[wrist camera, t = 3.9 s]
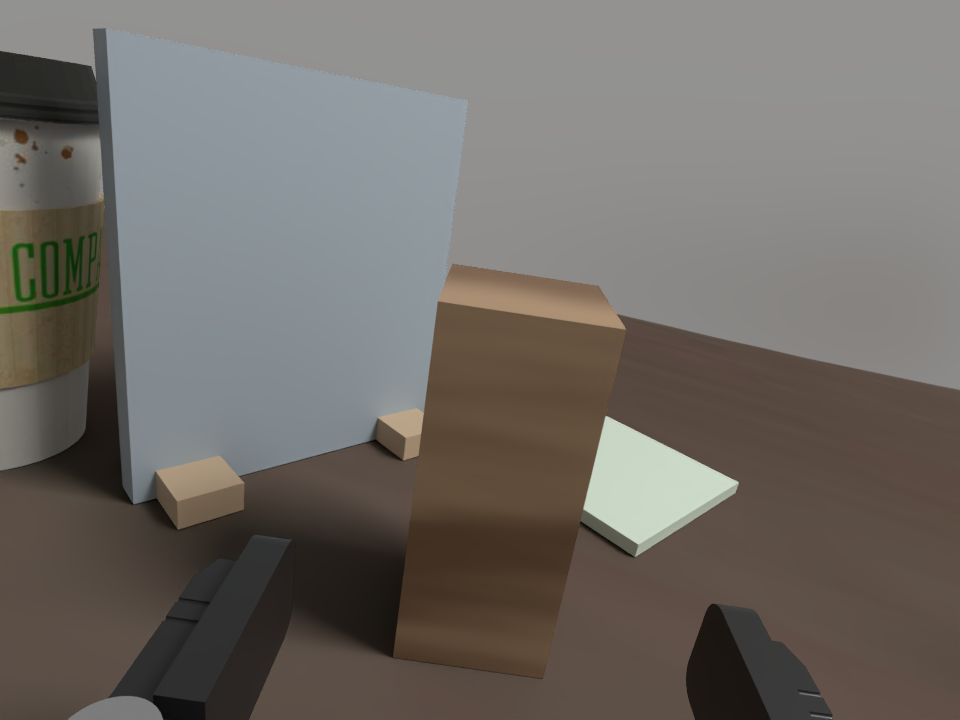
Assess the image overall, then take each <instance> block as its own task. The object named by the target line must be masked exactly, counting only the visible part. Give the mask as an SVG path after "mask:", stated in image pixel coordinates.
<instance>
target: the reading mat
mask: <svg viewBox="0 0 960 720" xmlns="http://www.w3.org/2000/svg"><path fill="white" fill-rule="evenodd" d="M738 483H739V482H737V481H735V480H733V479H731V478H729V477H727V476H725V475H723V474H721V473H719V472H717V471H715V470H713V469H711V468H709V467H707V466H705V465H703V464H701V463H699V462H697V461H695V460H693V459H691V458H689V457H687V456H685V455H683V454H681V453H679V452H677V451H675V450H673V449H671V448H669V447H667V446H665V445H663V444H661V443H659V442H657V441H655V440H653V439H651V438H649V437H647V436H645V435H643V434H641V433H639V432H637V431H635V430H633V429H631V428H629V427H627V426H625V425H623V424H621V423H619V422H617V421H615V420H613V419H611V418H609V417H607V416H606V417H605V421H604V425H603V429H602V433H601V438H600V442H599V446H598V450H597V454H596V458H595V463H594V467H593V471H592V475H591V479H590V483H589V488H588V492H587V496H586V500H585V504H584V508H583V513H582V517H581V522H583V523H584V524H586V525H587V526H589V527H590V528H592V529H593V530H595V531H596V532H598V533H599V534H601V535H602V536H604V537H605V538H607V539H608V540H610V541H611V542H613V543H614V544H616V545H618V546H619V547H621V548H622V549H624V550H625V551H627V552H628V553H630V554H631V555H633V556H634V557H636V556H638V555H639V554H641V553H642V552H644V551H645V550H647V549H648V548H650V547H652V546H653V545H655V544H656V543H658V542H659V541H661V540H663V539H664V538H666V537H667V536H669V535H670V534H672V533H673V532H675V531H677V530H678V529H680V528H681V527H683V526H684V525H686V524H688V523H689V522H691V521H692V520H694V519H695V518H697V517H698V516H700V515H702V514H703V513H705V512H706V511H708V510H709V509H711V508H713V507H714V506H716V505H717V504H719V503H720V502H722V501H723V500H725V499H727V498H728V497H730V496H731V495H733V494H734V493H735V492H736V489H737V486H738Z"/></svg>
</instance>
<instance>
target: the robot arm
mask: <svg viewBox="0 0 960 720" xmlns="http://www.w3.org/2000/svg"><path fill="white" fill-rule="evenodd" d="M294 567H295V542H294V540H289V539H282V538H275V537H268V536H262V535H254V536H253V537H252V538H251V539H250V540H249V542H248V544H247V545H246V547H245V548H244V550H243V552H242V553H241V555H240V556H239V558H238V560H237V561H235V560H228V559H221V558H219V559H217V560H216V561H214V562H213V563H212V564H210V565H209V566H207V567H206V568H205V569H203V570H202V571H200V572H199V573H197V574H196V575H195V576H194V577H193V579H192V580H191V581H190V583H189V584H188V586H187V587H186V589H185V590H184V591H183V593H182V594H181V596H180V597H179V601H178V602H176V603H175V604H174V606H173V607H172V608H171V610H170V611H169V613H168V614H167V616H166V619H165V621H162V623H161V624H160V626H159V627H158V628H157V630H156V631H155V633H154V634H153V636H152V637H151V638H150V640H149V641H148V643H147V644H146V646H145V647H144V648H143V650H142V651H141V653H140V654H139V656H138V657H137V658H136V660H135V661H134V663H133V664H132V666H131V667H130V668H129V670H128V671H127V673H126V674H125V676H124V677H123V678H122V680H121V681H120V683H119V684H118V686H117V687H116V688H115V690H114V691H113V692H112V694H111V695H110V696H109V697H108V699H105V700H101V701H98V702H96V703H94V704H91V705H89V706H87V707H86V708H84V709H82V710H80V711H79V712H77V713H76V714H74V715H73V716H72V717H70V718H69V719H68V720H249V718H250V716H251V713H252V711H253V709H254V706H255V704H256V702H257V700H258V697H259V695H260V693H261V690H262V688H263V686H264V684H265V681H266V679H267V677H268V674H269V672H270V670H271V668H272V665H273V663H274V661H275V658H276V656H277V654H278V651H279V649H280V647H281V645H282V642H283V640H284V638H285V635H286V632H287V629H288V625H289V621H290V617H291V612H292V604H293V587H294ZM686 686H687V694H688V698H689V702H690V705H691V708H692V711H693V714H694V717H695V720H833V719H832V713H831V711H830V709H829V708H828V706H827V704H826V702H825V701H824V699H823V698H821V697H820V692H819V690H818V688H817V686H816V685H815V683H814V681H813V679H812V677H811V676H810V674H809V672H808V670H807V669H806V667H805V666H804V665H803V664H802V663H801V661H800V660H799V659H798V658H797V657H796V656H795V655H794V654H793V653H792V652H791V651H790V650H789V649H788V648H787V647H786V646H785V645H784V644H783V643H782V642H776V641H772V640H771V638H770V637H769V635H768V633H767V631H766V629H765V627H764V625H763V623H762V621H761V619H760V617H759V616H758V614H757V613H756V612H755V611H754V610H752V609H747V608H741V607H734V606H727V605H720V604H711V605H710V606H709V607H708V609H707V611H706V613H705V616H704V619H703V622H702V625H701V628H700V631H699V633H698V636H697V639H696V642H695V645H694V648H693V650H692V653H691V656H690V659H689V662H688V666H687V673H686Z"/></svg>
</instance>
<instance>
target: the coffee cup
mask: <svg viewBox="0 0 960 720" xmlns="http://www.w3.org/2000/svg"><path fill="white" fill-rule="evenodd" d="M100 176H101V145H100V130H99V114H98V99H97V84H96V80H95V77H94V74H93V71H92V68H91V66H87V65H81V64H76V63H70V62H63V61H57V60H51V59H46V58H40V57H33V56H28V55H21V54H16V53H9V52H3V51H0V471H1V470H7V469H11V468H16V467H21V466H25V465H28V464H31V463H35V462H38V461H41V460H44V459H46V458H49V457H51V456H54V455H56V454H58V453H60V452H62V451H64V450H66V449H68V448H69V447H70V446H72V445H73V444H74V443H76V442H77V441H78V440H79V439H80V438H81V437H82V435H83V434H84V431H85V429H86V414H87V396H88V379H89V362H90V359H91V358H92V356H93V354H94V349H95V334H96V319H97V304H98V289H99V274H100V259H101V243H102V228H103V213H104V196H103V195H102V194H100V193H99V192H100Z"/></svg>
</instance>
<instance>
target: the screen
mask: <svg viewBox="0 0 960 720" xmlns="http://www.w3.org/2000/svg"><path fill="white" fill-rule="evenodd" d="M93 36H94V53H95V67H96V84H97V99H98V114H99V130H100V145H101V161H102V176H103V192H104V206H105V223H106V238H107V253H108V269H109V284H110V300H111V315H112V331H113V346H114V362H115V377H116V392H117V408H118V423H119V439H120V454H121V470H122V485H123V488H124V490H125V491H126V493H127V494H128V496H129V498H130V499H131V501H132V503H133V504H137V503H141V502H145V501H148V500H152V499H156V498H157V499H158V501H159V502H160V504H161V505H162V507H163V508H164V510H165V511H166V513H167V514H168V516H169V517H170V519H171V520H172V522H173V523H174V525H175V526H176V528H177V529H178V530H179V529H182V528H186V527H189V526H192V525H195V524H199V523H202V522H205V521H208V520H212V519H215V518H218V517H221V516H225V515H228V514H231V513H234V512H238V511H241V510H244V482H243V481H242V480H241V479H240V478H239V476H241V475H245V474H249V473H253V472H256V471H260V470H264V469H268V468H271V467H275V466H279V465H282V464H286V463H290V462H294V461H297V460H301V459H305V458H308V457H312V456H316V455H320V454H323V453H327V452H331V451H335V450H338V449H342V448H346V447H349V446H353V445H357V444H361V443H364V442H368V441H372V440H377V441H378V442H380V443H381V444H382V445H384V446H385V447H386V448H388V449H389V450H390V451H391V452H393V453H394V454H395V455H397V456H398V457H399V458H401V459H402V460H403V461H404V460H407V459H410V458H413V457H417V456H418V455H419V447H420V439H421V431H422V423H423V415H424V407H425V399H426V391H427V383H428V375H429V367H430V359H431V351H432V344H433V336H434V328H435V320H436V312H437V304H438V300H439V297H440V294H441V292H442V289H443V287H444V284H445V278H446V270H447V261H448V254H449V246H450V239H451V231H452V223H453V216H454V208H455V200H456V192H457V184H458V176H459V169H460V161H461V153H462V145H463V138H464V130H465V122H466V114H467V107H468V101H467V100H461V99H457V98H452V97H447V96H441V95H437V94H432V93H426V92H421V91H416V90H411V89H406V88H401V87H396V86H391V85H386V84H381V83H376V82H371V81H366V80H361V79H356V78H351V77H346V76H341V75H336V74H331V73H326V72H321V71H316V70H311V69H306V68H301V67H296V66H291V65H286V64H281V63H276V62H270V61H266V60H261V59H256V58H251V57H246V56H241V55H236V54H231V53H226V52H221V51H216V50H211V49H205V48H201V47H196V46H191V45H186V44H180V43H176V42H171V41H166V40H161V39H156V38H151V37H146V36H141V35H136V34H131V33H126V32H121V31H116V30H110V29H93Z"/></svg>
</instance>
